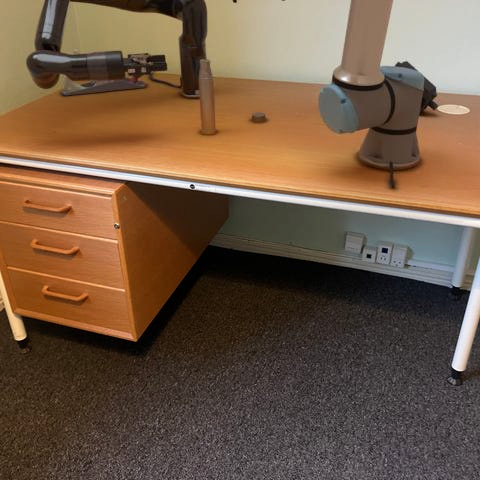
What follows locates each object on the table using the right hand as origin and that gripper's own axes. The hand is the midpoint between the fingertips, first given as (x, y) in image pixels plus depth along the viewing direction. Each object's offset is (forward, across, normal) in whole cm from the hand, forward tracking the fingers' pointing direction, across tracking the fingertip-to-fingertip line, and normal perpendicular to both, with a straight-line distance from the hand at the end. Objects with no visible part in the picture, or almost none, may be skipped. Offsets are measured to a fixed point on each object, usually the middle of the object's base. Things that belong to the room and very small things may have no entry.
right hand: (258, 1), depth 148 cm
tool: (+34, -48, +1) cm, 59 cm away
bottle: (+34, +17, +7) cm, 39 cm away
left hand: (+13, +27, +7) cm, 31 cm away
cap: (+33, 0, 0) cm, 33 cm away
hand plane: (+34, +49, -46) cm, 75 cm away
